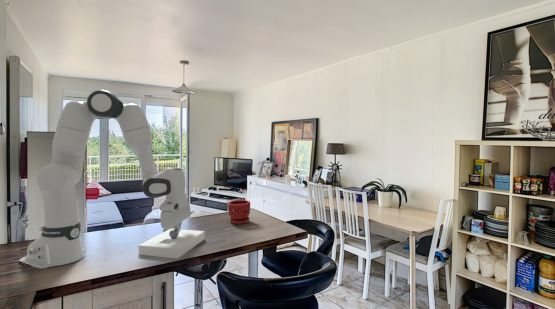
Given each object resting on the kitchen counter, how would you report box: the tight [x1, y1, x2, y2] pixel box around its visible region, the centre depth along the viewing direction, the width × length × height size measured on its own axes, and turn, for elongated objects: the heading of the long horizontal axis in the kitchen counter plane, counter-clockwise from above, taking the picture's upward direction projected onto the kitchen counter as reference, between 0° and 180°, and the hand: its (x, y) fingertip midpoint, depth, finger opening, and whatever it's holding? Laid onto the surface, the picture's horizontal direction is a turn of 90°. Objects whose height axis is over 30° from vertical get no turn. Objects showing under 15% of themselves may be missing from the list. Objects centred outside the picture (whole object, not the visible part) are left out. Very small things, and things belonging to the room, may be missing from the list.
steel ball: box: [169, 229, 179, 238], centre depth 132 cm, size 4×4×4 cm
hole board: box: [138, 228, 205, 259], centre depth 133 cm, size 18×24×4 cm
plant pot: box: [227, 199, 251, 225], centre depth 174 cm, size 13×13×12 cm
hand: (177, 232), depth 135 cm, fingers closed
